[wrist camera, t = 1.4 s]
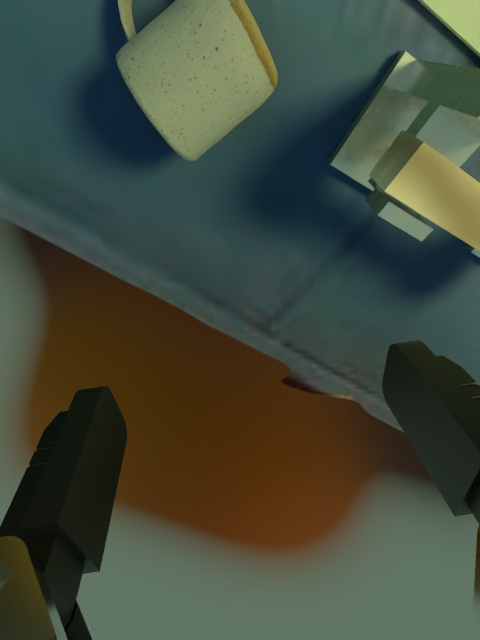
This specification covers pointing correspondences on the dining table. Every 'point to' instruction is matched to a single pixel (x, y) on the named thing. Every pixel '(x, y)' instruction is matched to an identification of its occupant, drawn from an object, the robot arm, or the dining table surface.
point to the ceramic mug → (196, 70)
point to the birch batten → (431, 186)
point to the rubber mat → (459, 19)
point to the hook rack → (412, 128)
